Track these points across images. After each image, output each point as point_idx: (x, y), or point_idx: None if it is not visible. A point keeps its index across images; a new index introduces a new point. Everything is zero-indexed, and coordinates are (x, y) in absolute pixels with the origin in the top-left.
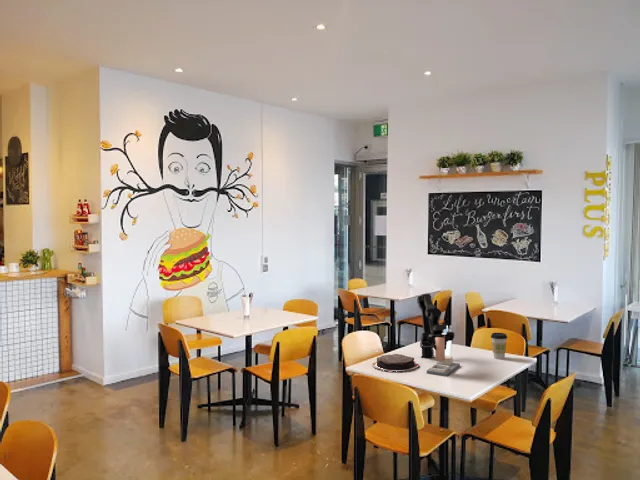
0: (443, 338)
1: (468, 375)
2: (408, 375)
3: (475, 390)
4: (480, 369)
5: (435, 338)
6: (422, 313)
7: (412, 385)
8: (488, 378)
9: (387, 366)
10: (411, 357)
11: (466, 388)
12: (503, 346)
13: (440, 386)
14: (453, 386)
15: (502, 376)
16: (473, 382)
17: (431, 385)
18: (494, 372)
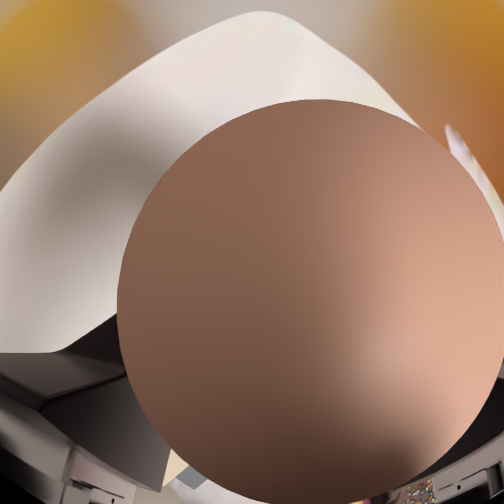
0: (228, 143)
1: (124, 202)
2: None
3: (213, 33)
4: (30, 296)
5: (502, 297)
6: None
7: (448, 130)
8: (72, 146)
9: None
10: (402, 491)
11: (237, 47)
12: None
13: (341, 81)
14: (282, 69)
15: (19, 171)
16: (164, 98)
17: (378, 102)
18: (10, 231)
